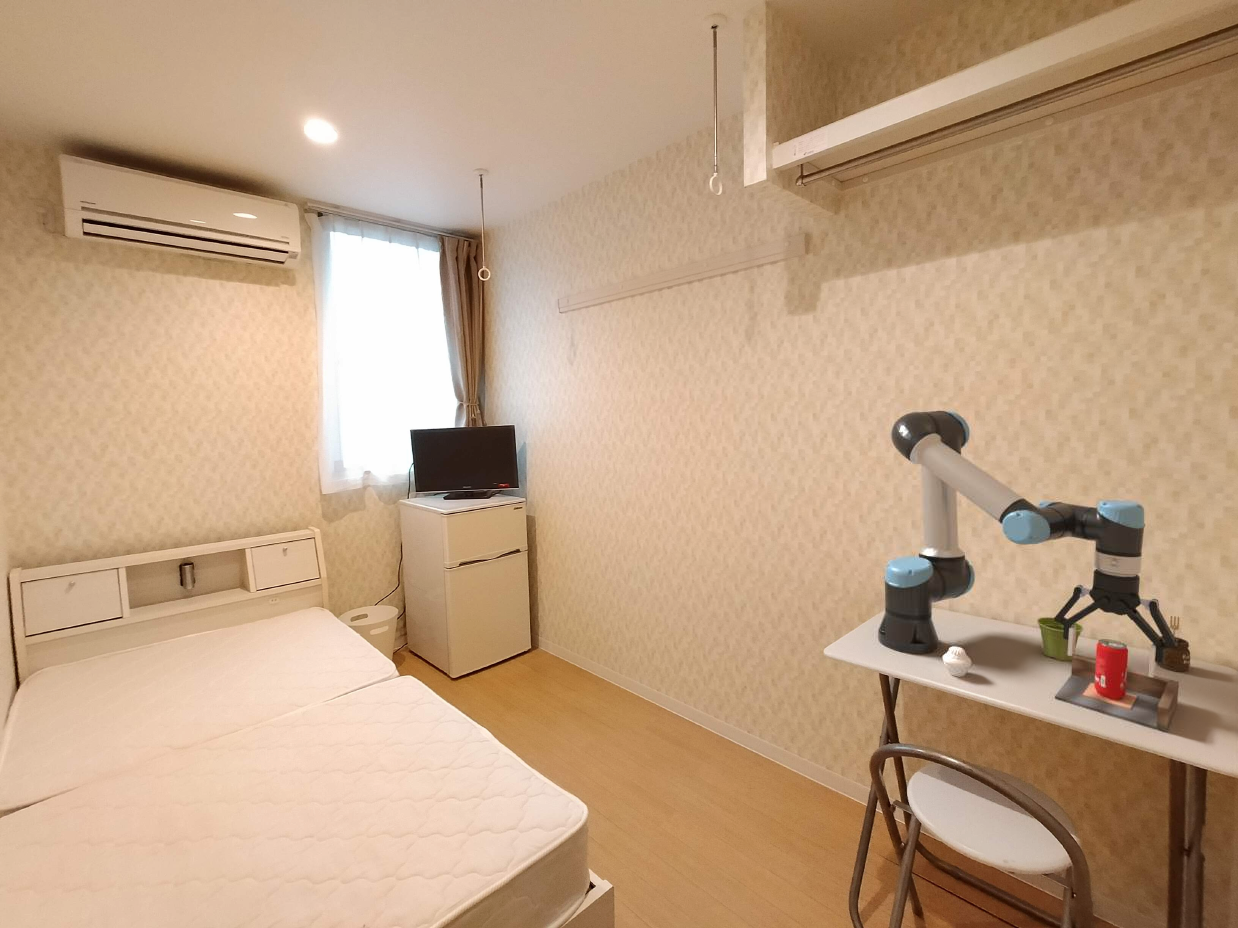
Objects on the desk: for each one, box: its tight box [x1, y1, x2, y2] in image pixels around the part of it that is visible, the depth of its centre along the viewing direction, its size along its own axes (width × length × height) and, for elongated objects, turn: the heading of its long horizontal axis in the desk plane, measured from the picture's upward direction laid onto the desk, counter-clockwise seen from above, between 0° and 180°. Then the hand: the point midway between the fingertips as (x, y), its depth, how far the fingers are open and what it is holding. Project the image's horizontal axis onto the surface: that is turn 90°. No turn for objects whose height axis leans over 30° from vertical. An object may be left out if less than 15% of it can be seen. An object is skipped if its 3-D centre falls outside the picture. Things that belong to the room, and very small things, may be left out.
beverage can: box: [1095, 638, 1129, 700], centre depth 123 cm, size 5×5×12 cm
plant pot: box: [1036, 616, 1084, 662], centre depth 144 cm, size 9×9×9 cm
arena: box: [1054, 654, 1180, 734], centre depth 122 cm, size 18×16×5 cm
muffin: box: [942, 646, 972, 678], centre depth 137 cm, size 6×6×7 cm
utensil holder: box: [1156, 615, 1191, 673], centre depth 136 cm, size 6×6×12 cm
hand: (1109, 664), depth 123 cm, fingers open, 13 cm apart
